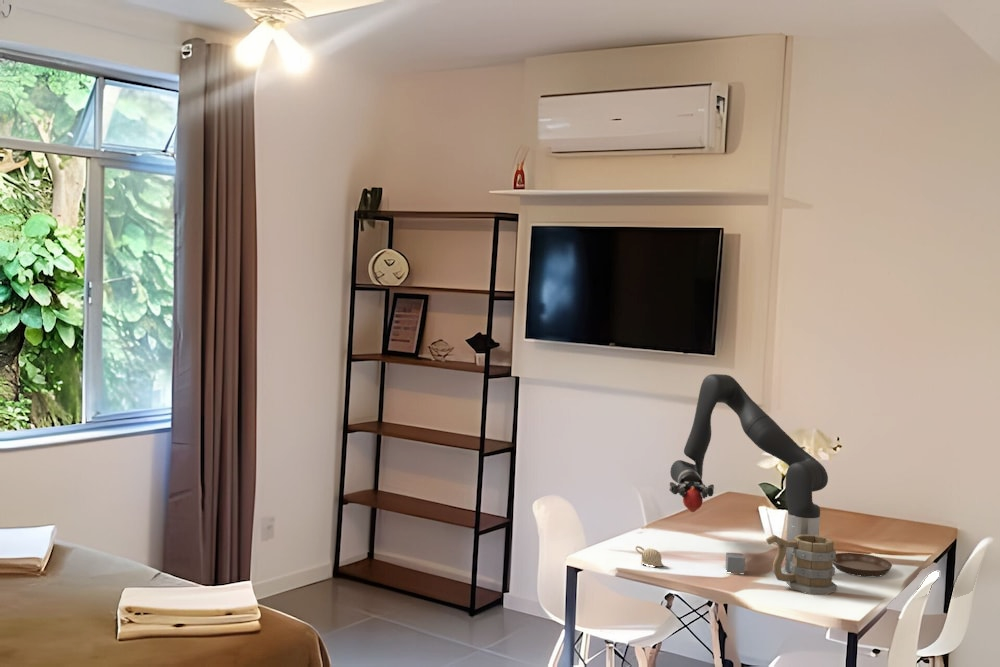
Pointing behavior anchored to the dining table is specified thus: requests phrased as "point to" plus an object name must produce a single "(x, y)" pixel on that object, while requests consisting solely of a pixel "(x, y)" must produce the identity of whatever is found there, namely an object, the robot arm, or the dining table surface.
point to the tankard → (807, 563)
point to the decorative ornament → (650, 556)
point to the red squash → (692, 499)
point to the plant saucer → (861, 564)
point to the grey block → (735, 562)
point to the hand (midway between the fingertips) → (694, 494)
